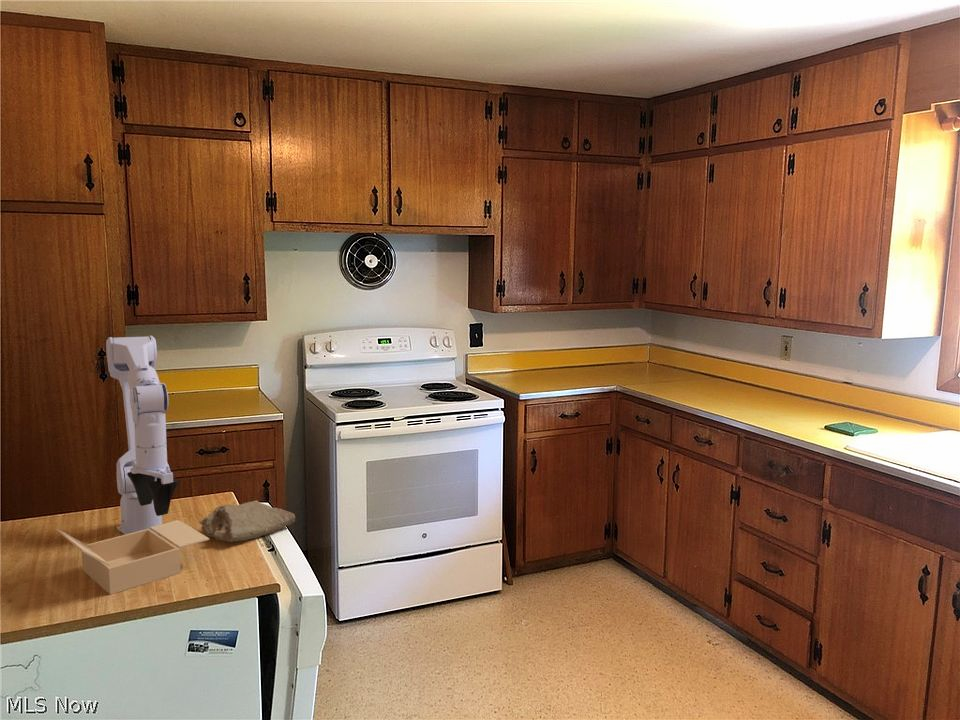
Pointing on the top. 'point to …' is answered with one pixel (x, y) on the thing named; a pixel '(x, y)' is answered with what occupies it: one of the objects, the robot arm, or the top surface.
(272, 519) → the artifact
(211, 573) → the top surface
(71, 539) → the cardboard box flap
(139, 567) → the carton
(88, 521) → the top surface
